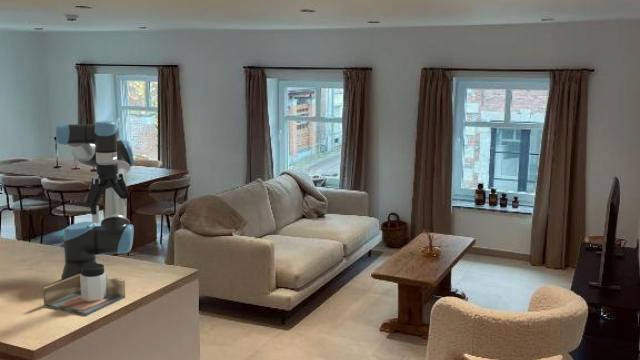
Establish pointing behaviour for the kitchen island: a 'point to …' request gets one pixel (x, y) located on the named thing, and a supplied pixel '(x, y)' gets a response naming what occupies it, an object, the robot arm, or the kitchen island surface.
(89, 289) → the jar
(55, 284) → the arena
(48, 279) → the kitchen island surface
